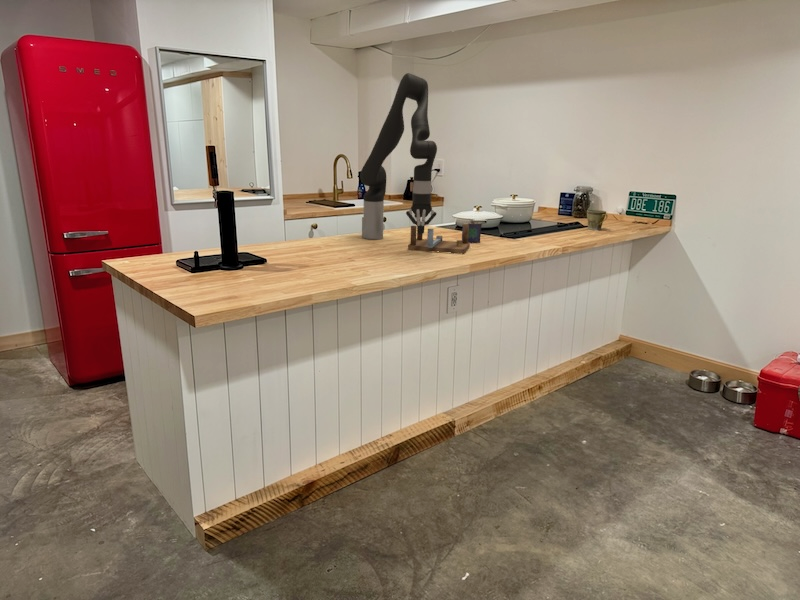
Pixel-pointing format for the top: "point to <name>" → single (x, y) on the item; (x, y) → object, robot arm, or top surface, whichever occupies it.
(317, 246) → the top surface
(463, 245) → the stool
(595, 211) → the ceramic cup
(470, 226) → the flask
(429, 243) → the cylinder
